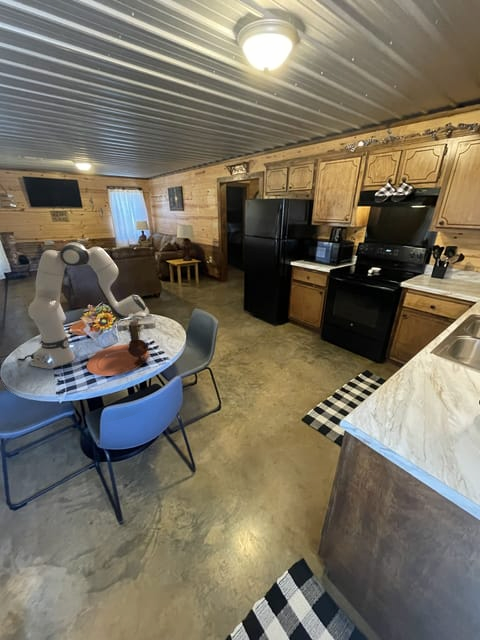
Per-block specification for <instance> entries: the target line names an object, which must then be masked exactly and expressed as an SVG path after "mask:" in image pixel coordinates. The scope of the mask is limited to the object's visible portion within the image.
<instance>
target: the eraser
mask: <svg viewBox="0 0 480 640" xmlns="http://www.w3.org/2000/svg"><path fill="white" fill-rule="evenodd" d="M138 328H139V322H138V321H134V322H130V324H129V331H130V332H129V335H130V341H136V340H141V337H142V334H141V332H138Z"/></svg>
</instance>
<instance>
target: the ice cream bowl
mask: <svg viewBox="0 0 480 640" xmlns="http://www.w3.org/2000/svg"><path fill="white" fill-rule="evenodd" d="M148 351H149V344H147V343H146V342H145V341H144V340H142V339H139V340H136V341H131V340H130V341H129V343H128V348H127V352H128V353H129V354H130V355H131V356H132V357H135V358H138V359H137V360H136V361H135V364H136V365H139V366H140V365H144V364H145V363H146V360H145V358H142V357H144V356H145V355H146V354H147V353H148Z"/></svg>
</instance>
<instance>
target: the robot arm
mask: <svg viewBox="0 0 480 640" xmlns="http://www.w3.org/2000/svg"><path fill="white" fill-rule="evenodd" d="M83 265H88V266H90V267H91V269H92V270H93V271H94V272H95V274H96V277H97V278H98V280H97V286H98V289H99V290H100V292H101V294H102V296H103V298H104V300H105V302H106V303H107V305H108V307H109V309H110V312H111V313H112V316H114V318H116V319H119V320H120V321H119V322H118V323H117V324H116V329H117V331H118V332H125V331H126V332H127V333H130V331H129V324H130V322H134V321H138V322H139V328H138V332H140V333H141V332H142V331H143V330H154V329H156V326H157V325H156V319H155V316H154V315H153V314H150V310H149V308H148V307H147V304H146V303H145V301H144V299H143V298H142V297H141V296H139V295H137V294H132V295H129V296H127V297H126V298H124V299H122V300H120V301H117V300H116V298H115V296H114V295H113V293H112V290H111V286H112V285H113V283H114V282H115V281H116V280H117V279H118V276H119V273H120V271H119V268H118V266H117V264H116V263H115V262H114V260H113V259H112V258H111V257H110V255H109V254H108V253H107V252H106V251H105V250H104V249H103V248H102V247H100V246H92V247H90V248H86V246H85V245H84V244H82V243H81V242H79V241H70V242H67V243H65V244H64V245H63V246H62V247H61V249H60V250H54V249H47V250H45V251H43V252H42V255H41V257H40V260H39V262H38V265H37V266H38V267H37V271H36V272H37V273H36V278H35V283H34V284H35V296H34V299H33V301H31V303H30V304H29V305H28V309H27V310H28V311H27V314H28V316H29V317H30V319H31V320H33V322H34V324H35V325H36V327H37V329H38V331H39V334H40V337H41V341H39V342H38V344H39V345H41V346H40V347H39V348H38V349H37V350H36V351H34V352H33V353H32V354H28V355H26V356H24V357H23V358H17V361H25V360H26V359H27V358H29V357H30V359H31V361H30V363H29V365H30V366H31V367H37V368H42V369H47V370H51V369H54V368H57V367H58V368H59V367H61V366H64V365H67V364H70V363H72V362H73V361H74V360H76V354H75V353H74V350H73V349H72V348H73V347H74V345H73V344H72V345H71V344H70V342H69V337H67V335H66V334H67V333H66V329H65V327H64V323H62V322H61V321H60V319H59V317H58V315H57V309H58V307H59V303H60V301H61V294H62V286H63V280H64V276H65V269H66V267H67V266H69V267H81V266H83ZM132 314H133V315H132ZM131 315H132V316H131ZM129 316H131V318H130V319H127V320H126V319H125V318H127V317H129ZM124 319H125V320H124Z"/></svg>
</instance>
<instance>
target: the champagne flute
mask: <svg viewBox="0 0 480 640" xmlns="http://www.w3.org/2000/svg"><path fill="white" fill-rule="evenodd" d="M57 315H58V317H59V319H60V321H61V322H62V324H64V323H65V321H66V319H67V317H66V315H65V313H64V309H63V307H62V305H61V303H60V302H59V307H58V309H57ZM65 334H66V335H67V337H68V338H69V337H71V334H70V333H65Z"/></svg>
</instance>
